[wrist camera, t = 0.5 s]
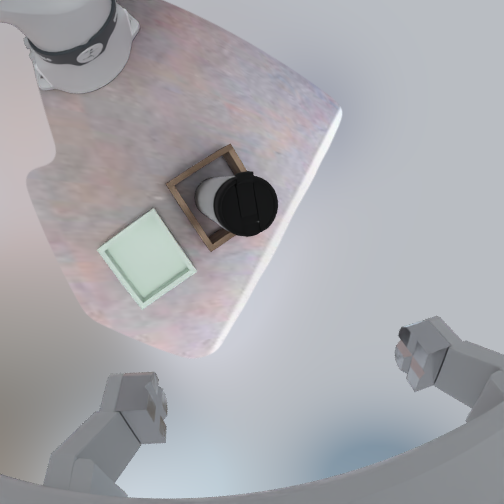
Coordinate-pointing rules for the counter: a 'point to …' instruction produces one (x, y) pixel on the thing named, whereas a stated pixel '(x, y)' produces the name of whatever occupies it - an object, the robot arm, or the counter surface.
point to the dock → (147, 259)
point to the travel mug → (238, 203)
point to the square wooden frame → (214, 239)
